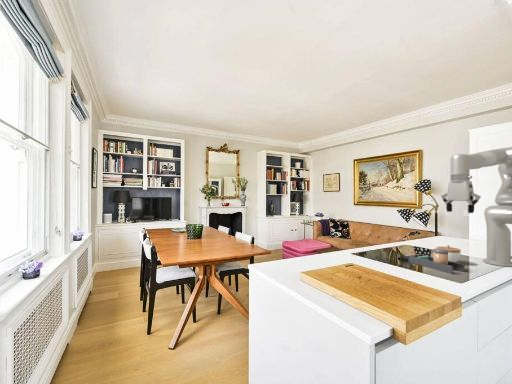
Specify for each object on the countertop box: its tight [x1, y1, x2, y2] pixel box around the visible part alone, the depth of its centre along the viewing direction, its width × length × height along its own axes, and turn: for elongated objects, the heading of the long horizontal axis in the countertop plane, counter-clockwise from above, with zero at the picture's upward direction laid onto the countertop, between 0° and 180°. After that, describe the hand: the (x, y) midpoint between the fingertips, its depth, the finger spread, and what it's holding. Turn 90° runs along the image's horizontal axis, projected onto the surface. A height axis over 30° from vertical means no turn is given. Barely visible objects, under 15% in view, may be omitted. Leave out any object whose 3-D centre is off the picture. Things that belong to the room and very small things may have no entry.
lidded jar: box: [435, 245, 462, 263], centre depth 138 cm, size 11×11×9 cm
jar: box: [432, 248, 448, 265], centre depth 127 cm, size 6×6×9 cm
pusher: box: [417, 255, 429, 260], centre depth 135 cm, size 7×1×4 cm, turn 112°
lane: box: [407, 253, 465, 275], centre depth 130 cm, size 10×22×4 cm, turn 22°
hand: (459, 212), depth 128 cm, fingers open, 9 cm apart
